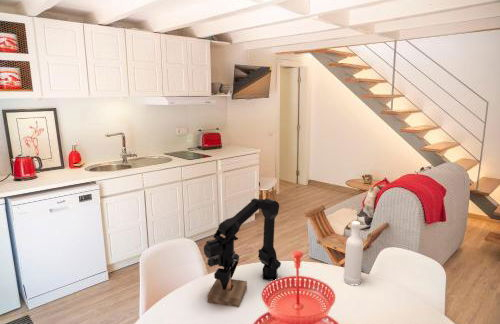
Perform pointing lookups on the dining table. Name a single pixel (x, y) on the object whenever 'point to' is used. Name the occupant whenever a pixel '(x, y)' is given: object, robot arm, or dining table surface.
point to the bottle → (353, 256)
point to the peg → (229, 285)
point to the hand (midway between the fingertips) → (227, 283)
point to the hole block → (227, 293)
